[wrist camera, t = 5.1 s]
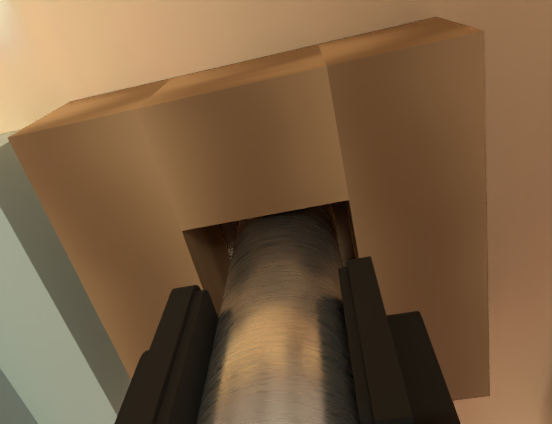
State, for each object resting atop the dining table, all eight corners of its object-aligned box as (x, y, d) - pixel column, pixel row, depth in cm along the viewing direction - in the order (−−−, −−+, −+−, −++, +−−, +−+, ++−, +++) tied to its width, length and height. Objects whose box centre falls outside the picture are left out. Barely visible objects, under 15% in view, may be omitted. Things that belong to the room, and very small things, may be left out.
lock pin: (331, 164, 14) (464, 871, 3) (348, 257, 15) (474, 939, 5) (221, 185, 14) (-3, 864, 3) (248, 273, 16) (154, 927, 5)
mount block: (436, 16, 13) (483, 30, 9) (454, 321, 17) (489, 395, 14) (70, 101, 14) (7, 137, 11) (182, 361, 19) (160, 436, 16)
